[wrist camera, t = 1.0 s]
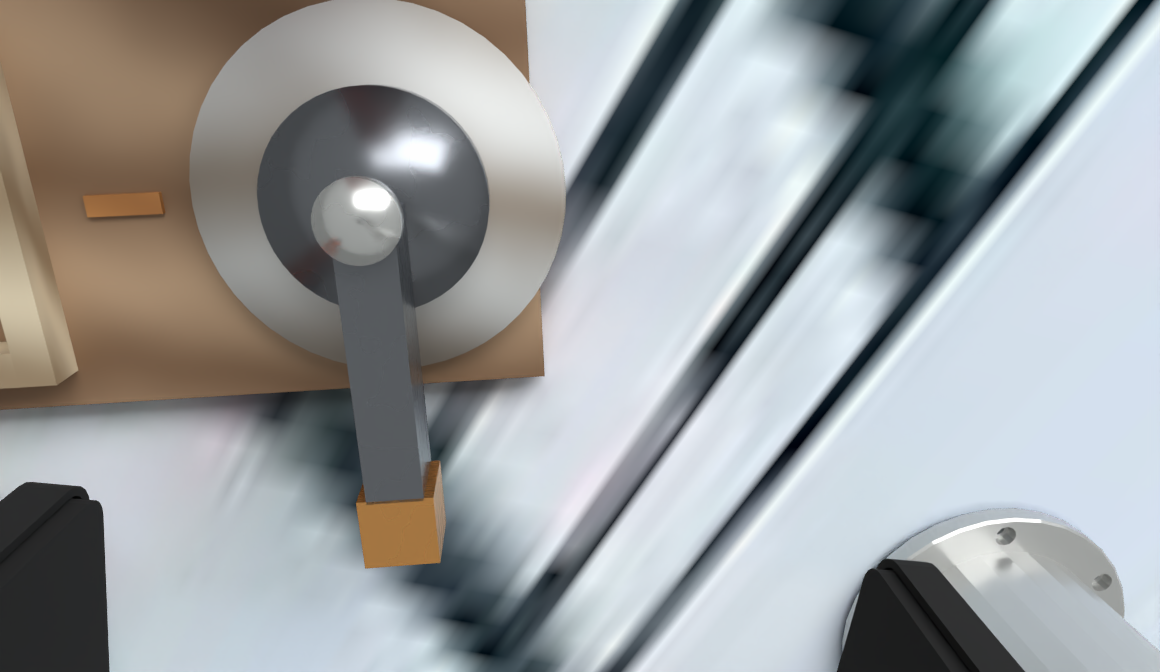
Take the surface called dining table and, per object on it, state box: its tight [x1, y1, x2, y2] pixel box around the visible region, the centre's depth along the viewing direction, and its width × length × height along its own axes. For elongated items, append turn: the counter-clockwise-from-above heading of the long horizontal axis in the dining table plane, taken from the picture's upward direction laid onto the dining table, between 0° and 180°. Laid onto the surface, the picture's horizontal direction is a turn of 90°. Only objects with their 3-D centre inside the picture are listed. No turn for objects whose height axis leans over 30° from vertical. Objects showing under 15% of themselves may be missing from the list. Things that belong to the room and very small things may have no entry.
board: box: [0, 0, 566, 410], centre depth 26 cm, size 14×29×3 cm, turn 92°
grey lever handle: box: [257, 84, 490, 568], centre depth 25 cm, size 15×7×4 cm, turn 2°
